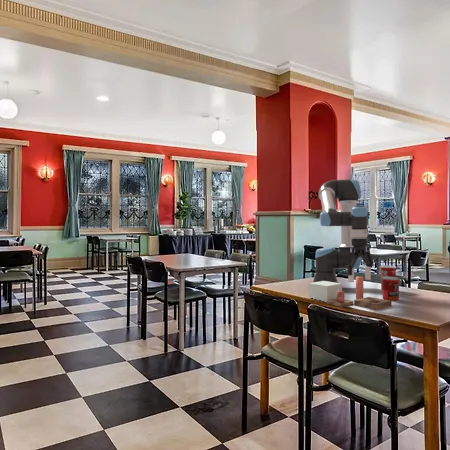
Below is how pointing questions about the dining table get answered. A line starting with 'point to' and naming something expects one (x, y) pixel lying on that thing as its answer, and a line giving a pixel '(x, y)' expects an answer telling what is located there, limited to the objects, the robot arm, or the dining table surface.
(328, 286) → the block
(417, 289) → the dining table surface
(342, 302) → the board
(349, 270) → the robot arm
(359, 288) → the peg
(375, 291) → the dining table surface
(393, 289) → the canned food
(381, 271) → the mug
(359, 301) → the wooden square frame
